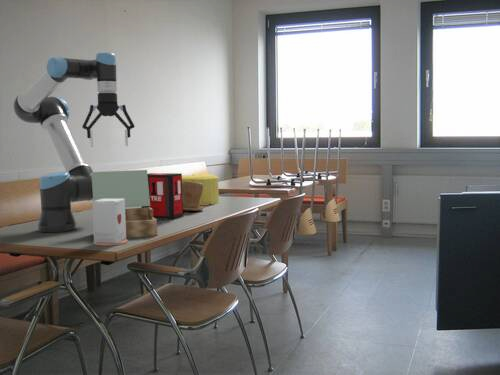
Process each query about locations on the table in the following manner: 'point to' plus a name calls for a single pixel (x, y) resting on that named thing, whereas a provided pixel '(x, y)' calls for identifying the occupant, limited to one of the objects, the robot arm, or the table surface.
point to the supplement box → (109, 220)
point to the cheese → (205, 187)
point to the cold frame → (140, 222)
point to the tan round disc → (111, 243)
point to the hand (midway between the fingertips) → (109, 146)
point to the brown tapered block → (191, 195)
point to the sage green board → (122, 187)
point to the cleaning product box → (165, 195)
